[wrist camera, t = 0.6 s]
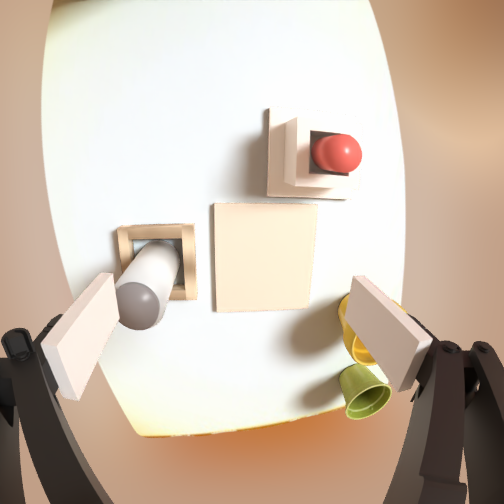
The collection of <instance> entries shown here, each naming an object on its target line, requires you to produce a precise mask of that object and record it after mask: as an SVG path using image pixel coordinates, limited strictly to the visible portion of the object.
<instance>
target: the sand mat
mask: <svg viewBox="0 0 504 504" xmlns="http://www.w3.org/2000/svg"><path fill="white" fill-rule="evenodd" d="M317 209H318V205H317V204H299V203H214V220H215V274H216V304H217V312H241V311H268V310H287V309H304V308H308V304H309V296H310V287H311V278H312V268H313V258H314V247H315V235H316V223H317Z"/></svg>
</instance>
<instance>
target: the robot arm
mask: <svg viewBox="0 0 504 504" xmlns="http://www.w3.org/2000/svg"><path fill="white" fill-rule="evenodd" d="M119 318H120V317H119V311H118V306H117V299H116V293H115V286H114V279H113V273H100V274H99V275H98V276H97V277H96V278H95V279H94V280H93V281H92V282H91V283H90V285H89V286H88V287H87V288H86V289H85V290H84V291H83V292H82V294H81V295H80V296H79V297H78V298H77V299H76V300H75V302H74V303H73V304H72V305H71V306H70V307H69V309H68V310H67V311H66V312H65V314H59V315H58V316H56V317H54V318H53V319H51V321H50V322H49V323H48V324H47V327H45V328H44V329H43V331H42V332H41V333H40V334H39V335H38V336H37V338H36V339H35V340H34V341H33V342H32V339H31V336H30V333H29V331H28V330H26V329H24V328H15V329H12V330H10V331H8V332H7V333H5V334H4V335H3V337H2V339H1V343H2V345H3V348H4V350H5V352H6V355H7V357H8V358H0V504H26V503H25V497H24V491H23V484H22V476H21V465H20V452H19V418H20V422H21V426H22V429H23V433H24V437H25V440H26V443H27V446H28V449H29V452H30V455H31V458H32V461H33V464H34V467H35V469H36V471H37V474H38V477H39V479H40V482H41V484H42V486H43V488H44V491H45V493H46V495H47V497H48V500H49V502H50V504H114V503H113V502H112V500H111V499H110V498H109V496H108V494H107V493H106V492H105V490H104V489H103V487H102V485H101V484H100V482H99V481H98V479H97V477H96V476H95V474H94V473H93V471H92V469H91V467H90V466H89V464H88V462H87V460H86V458H85V457H84V455H83V453H82V452H81V449H80V447H79V445H78V443H77V441H76V440H75V437H74V435H73V433H72V431H71V429H70V427H69V425H68V422H67V420H66V418H65V416H64V413H63V411H62V409H61V406H60V404H59V401H58V399H57V397H56V395H55V393H56V391H57V389H58V388H59V389H60V392H61V394H62V396H63V398H67V399H71V400H76V401H79V399H80V397H81V395H82V393H83V390H84V388H85V386H86V384H87V382H88V380H89V377H90V375H91V373H92V371H93V369H94V367H95V365H96V363H97V361H98V359H99V357H100V355H101V353H102V351H103V349H104V347H105V345H106V343H107V341H108V339H109V337H110V335H111V333H112V331H113V329H114V328H115V326H116V324H117V322H118V320H119ZM344 318H345V320H346V321H347V322H348V324H349V325H350V327H351V328H352V329H353V331H354V332H355V333H356V335H357V336H358V338H359V339H360V340H361V342H362V343H363V344H364V346H365V347H366V349H367V350H368V351H369V353H370V354H371V356H372V357H373V358H374V360H375V361H376V363H377V364H378V365H379V367H380V368H381V370H382V371H383V372H384V374H385V375H386V377H387V378H388V380H389V381H390V382H391V384H392V385H393V387H394V388H395V390H396V391H397V392H401V391H405V390H408V389H411V387H412V385H413V383H414V381H415V379H417V381H418V382H419V383H420V384H419V386H418V388H417V390H416V392H415V394H414V395H413V397H412V399H411V401H410V402H413V400H414V399H415V400H414V405H413V409H412V414H411V418H410V423H409V427H408V430H407V434H406V438H405V441H404V445H403V448H402V452H401V455H400V458H399V461H398V465H397V467H396V470H395V473H394V476H393V479H392V481H391V484H390V487H389V489H388V492H387V495H386V497H385V500H384V502H383V504H465V500H466V494H467V485H466V484H465V483H460V482H459V476H460V468H461V461H462V450H463V448H464V455H465V462H466V469H467V478H468V489H469V504H504V367H503V365H502V363H501V362H500V360H499V358H498V356H497V354H496V352H495V351H494V349H493V348H492V347H491V346H490V345H489V344H488V343H486V342H481V341H476V342H474V344H473V346H472V348H471V350H470V351H462V350H461V348H460V347H459V346H458V345H457V344H455V343H453V342H450V341H439V340H438V339H437V338H436V337H435V336H434V335H433V334H432V333H431V332H430V331H429V330H428V329H425V327H424V326H423V325H422V324H421V323H420V322H419V321H418V320H417V319H416V318H414V317H413V316H411V315H409V314H407V313H405V312H404V311H403V310H402V309H401V308H400V307H399V306H398V305H397V304H396V303H394V302H393V301H392V300H391V299H390V298H389V297H388V296H387V295H386V294H385V293H383V292H382V291H381V290H380V289H379V288H378V287H377V286H376V285H374V284H373V283H372V282H371V281H370V280H369V279H368V278H367V277H365V276H353V279H352V284H351V289H350V294H349V299H348V304H347V308H346V313H345V317H344ZM479 382H480V385H479V390H477V386H478V384H479Z"/></svg>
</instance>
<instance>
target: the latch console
mask: <svg viewBox="0 0 504 504" xmlns="http://www.w3.org/2000/svg"><path fill="white" fill-rule="evenodd" d="M340 134H346V135H350V136H352V137H353V138H354V139H356V140H357V142H358V143H359V145H360V147H361V142H362V124H356V123H355V117H353V116H347V115H341V114H334V113H327V112H320V111H311V110H302V109H292V108H280V107H270V108H269V137H268V176H267V196H268V197H306V198H331V199H350V200H351V196H352V189H354V190H359V183H360V166H361V162H360V164H359V166H358V167H357V168H356V169H355V170H354V171H352V172H349V173H342V172H335V171H328V170H323V169H321V168H319V167H318V166H316V165H315V163H314V162H313V160H312V156H311V149H312V146H313V144H314V143H315V141H317V140H318V139H319V138H322V137H327V136H333V135H340Z"/></svg>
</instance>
